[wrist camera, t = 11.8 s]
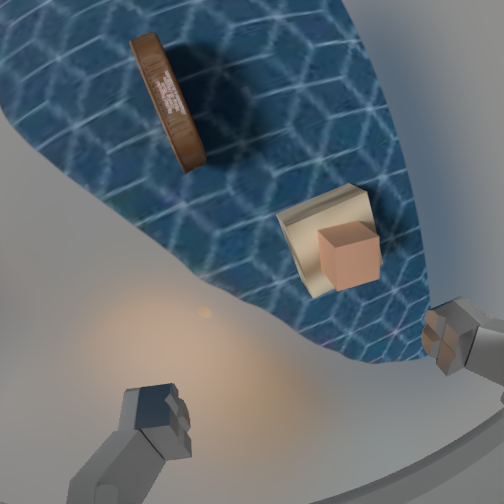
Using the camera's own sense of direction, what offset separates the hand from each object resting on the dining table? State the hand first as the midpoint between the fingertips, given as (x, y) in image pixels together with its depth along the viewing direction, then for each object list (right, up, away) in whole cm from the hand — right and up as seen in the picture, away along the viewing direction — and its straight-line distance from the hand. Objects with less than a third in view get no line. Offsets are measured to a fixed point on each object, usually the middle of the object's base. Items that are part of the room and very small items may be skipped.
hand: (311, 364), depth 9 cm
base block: (+7, +6, +31) cm, 33 cm away
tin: (-10, +19, +22) cm, 31 cm away
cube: (+8, +4, +26) cm, 28 cm away
